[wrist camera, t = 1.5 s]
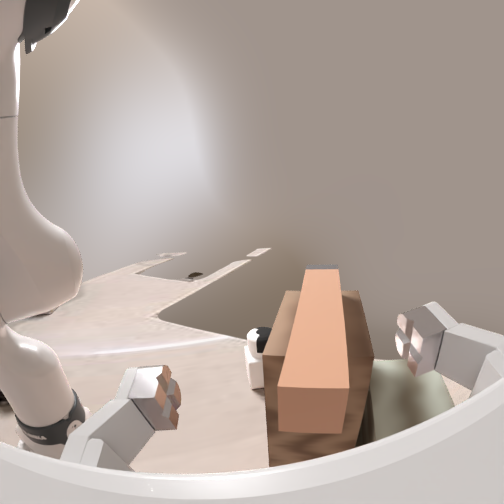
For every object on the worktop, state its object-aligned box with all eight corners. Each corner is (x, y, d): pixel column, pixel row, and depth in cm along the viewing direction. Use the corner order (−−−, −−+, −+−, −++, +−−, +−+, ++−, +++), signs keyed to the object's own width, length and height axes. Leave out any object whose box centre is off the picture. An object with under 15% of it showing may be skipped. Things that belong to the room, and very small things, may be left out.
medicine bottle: (277, 366, 64) (275, 321, 61) (284, 384, 57) (283, 337, 54) (246, 371, 63) (242, 326, 60) (251, 390, 56) (246, 342, 53)
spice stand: (269, 496, 30) (259, 361, 24) (288, 421, 46) (286, 290, 40) (424, 491, 24) (497, 349, 18) (410, 419, 40) (443, 288, 34)
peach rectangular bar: (278, 431, 16) (277, 386, 15) (307, 293, 38) (306, 264, 38) (341, 433, 15) (349, 388, 14) (337, 293, 38) (337, 264, 37)
